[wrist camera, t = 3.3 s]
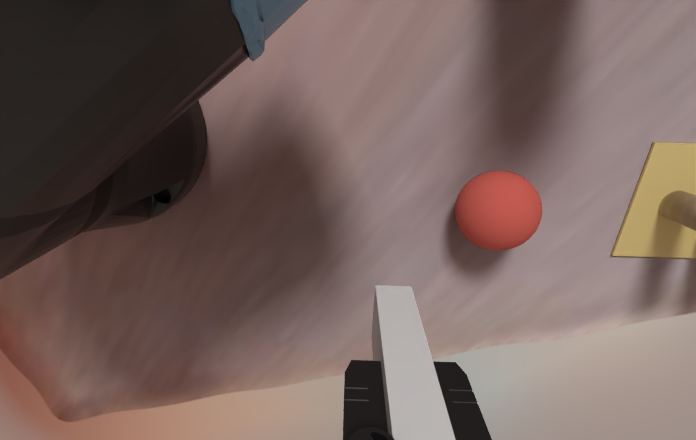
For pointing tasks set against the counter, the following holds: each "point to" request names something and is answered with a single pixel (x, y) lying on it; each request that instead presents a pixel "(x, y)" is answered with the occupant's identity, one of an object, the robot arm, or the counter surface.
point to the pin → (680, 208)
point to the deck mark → (643, 213)
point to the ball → (498, 210)
